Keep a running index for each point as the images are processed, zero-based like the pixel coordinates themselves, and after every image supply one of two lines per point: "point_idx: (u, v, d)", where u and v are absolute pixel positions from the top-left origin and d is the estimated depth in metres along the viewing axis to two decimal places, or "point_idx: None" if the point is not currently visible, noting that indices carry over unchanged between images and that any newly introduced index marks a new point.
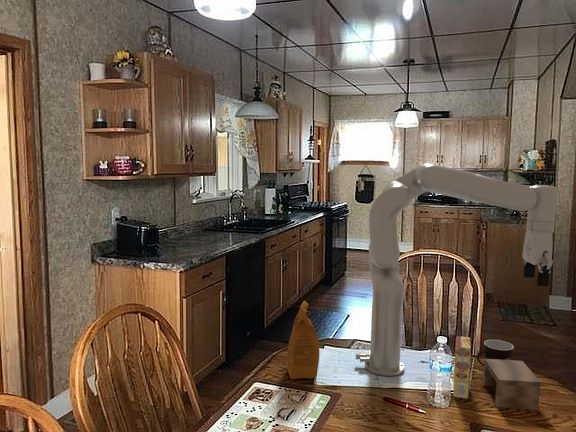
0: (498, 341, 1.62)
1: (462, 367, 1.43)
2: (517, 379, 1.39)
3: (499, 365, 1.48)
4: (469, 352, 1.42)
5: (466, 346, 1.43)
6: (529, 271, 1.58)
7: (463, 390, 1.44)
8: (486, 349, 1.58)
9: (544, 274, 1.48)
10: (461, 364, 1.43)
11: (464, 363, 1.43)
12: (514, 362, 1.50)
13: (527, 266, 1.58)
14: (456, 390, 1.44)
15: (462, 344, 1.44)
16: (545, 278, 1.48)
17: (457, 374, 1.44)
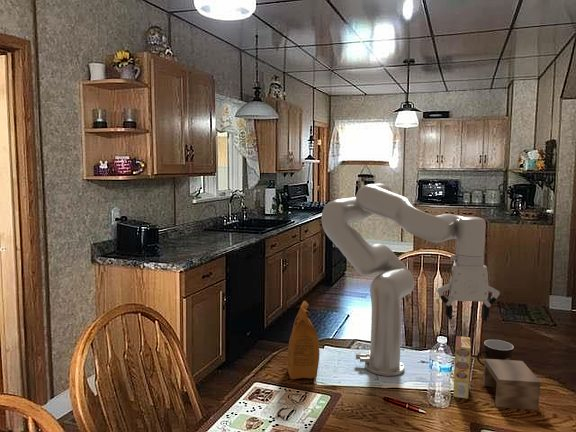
0: (498, 341, 1.62)
1: (462, 367, 1.43)
2: (517, 379, 1.39)
3: (499, 365, 1.48)
4: (469, 352, 1.42)
5: (466, 346, 1.43)
6: None
7: (463, 390, 1.44)
8: (486, 349, 1.58)
9: None
10: (461, 364, 1.43)
11: (464, 363, 1.43)
12: (514, 362, 1.50)
13: (451, 306, 1.44)
14: (456, 390, 1.44)
15: (462, 344, 1.44)
16: None
17: (457, 374, 1.44)
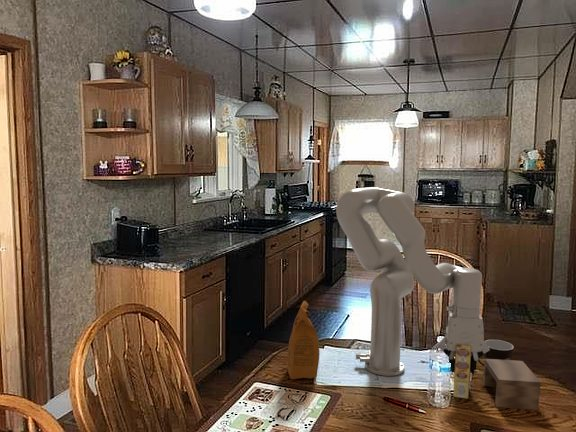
0: (498, 341, 1.62)
1: (462, 367, 1.43)
2: (517, 379, 1.39)
3: (499, 365, 1.48)
4: (469, 352, 1.42)
5: (466, 346, 1.43)
6: None
7: (463, 390, 1.44)
8: None
9: None
10: (461, 364, 1.43)
11: (465, 363, 1.43)
12: (514, 362, 1.50)
13: None
14: (457, 390, 1.44)
15: None
16: None
17: (457, 374, 1.44)
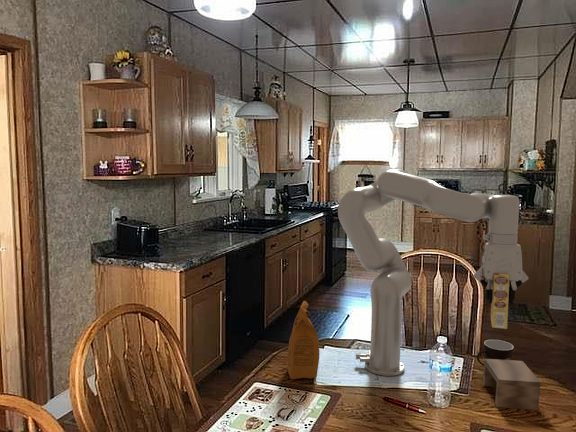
0: (498, 341, 1.62)
1: (500, 295, 1.38)
2: (517, 379, 1.39)
3: (499, 365, 1.48)
4: (508, 279, 1.37)
5: (504, 274, 1.38)
6: None
7: (502, 320, 1.39)
8: (486, 349, 1.58)
9: None
10: (499, 292, 1.38)
11: (503, 291, 1.38)
12: (514, 362, 1.50)
13: None
14: (495, 321, 1.40)
15: None
16: None
17: (495, 304, 1.39)
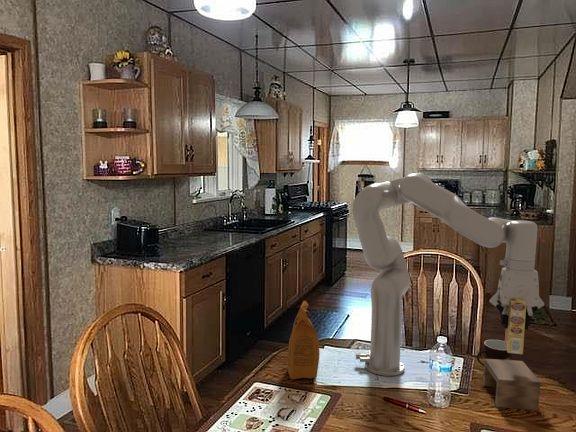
0: (498, 341, 1.62)
1: (517, 321, 1.39)
2: (517, 379, 1.39)
3: (499, 365, 1.48)
4: (525, 306, 1.38)
5: (521, 300, 1.38)
6: None
7: (518, 346, 1.39)
8: (486, 349, 1.58)
9: None
10: (516, 318, 1.39)
11: (519, 317, 1.38)
12: (514, 362, 1.50)
13: (507, 315, 1.42)
14: (511, 346, 1.40)
15: None
16: None
17: (511, 329, 1.39)
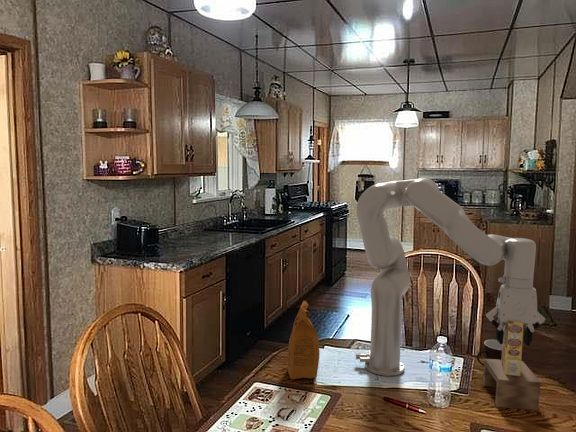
0: None
1: (514, 344, 1.40)
2: (517, 379, 1.39)
3: (499, 365, 1.48)
4: (522, 328, 1.39)
5: (518, 323, 1.39)
6: None
7: (515, 368, 1.40)
8: (486, 349, 1.58)
9: None
10: (513, 341, 1.40)
11: (517, 340, 1.39)
12: None
13: None
14: (508, 368, 1.41)
15: None
16: None
17: (509, 352, 1.40)
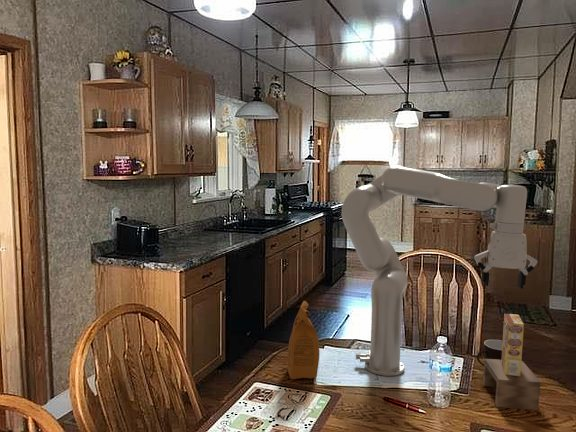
0: (498, 341, 1.62)
1: (514, 344, 1.40)
2: (517, 379, 1.39)
3: (499, 365, 1.48)
4: (522, 328, 1.39)
5: (518, 323, 1.39)
6: None
7: (515, 368, 1.40)
8: (486, 349, 1.58)
9: None
10: (513, 341, 1.40)
11: (517, 340, 1.39)
12: None
13: (488, 273, 1.46)
14: (508, 368, 1.41)
15: (513, 320, 1.41)
16: None
17: (509, 352, 1.40)
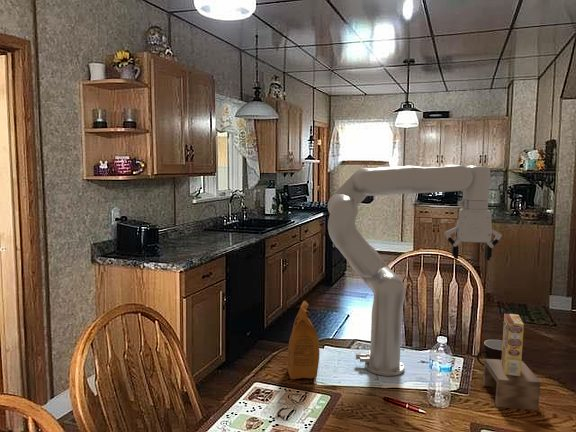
0: (498, 341, 1.62)
1: (514, 344, 1.40)
2: (517, 379, 1.39)
3: (499, 365, 1.48)
4: (522, 328, 1.39)
5: (518, 323, 1.39)
6: None
7: (515, 368, 1.40)
8: (486, 349, 1.58)
9: None
10: (513, 341, 1.40)
11: (517, 340, 1.39)
12: None
13: None
14: (508, 368, 1.41)
15: (513, 320, 1.41)
16: None
17: (509, 352, 1.40)
